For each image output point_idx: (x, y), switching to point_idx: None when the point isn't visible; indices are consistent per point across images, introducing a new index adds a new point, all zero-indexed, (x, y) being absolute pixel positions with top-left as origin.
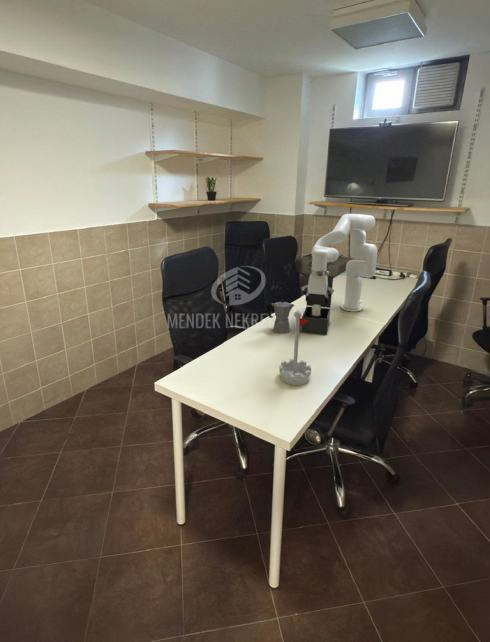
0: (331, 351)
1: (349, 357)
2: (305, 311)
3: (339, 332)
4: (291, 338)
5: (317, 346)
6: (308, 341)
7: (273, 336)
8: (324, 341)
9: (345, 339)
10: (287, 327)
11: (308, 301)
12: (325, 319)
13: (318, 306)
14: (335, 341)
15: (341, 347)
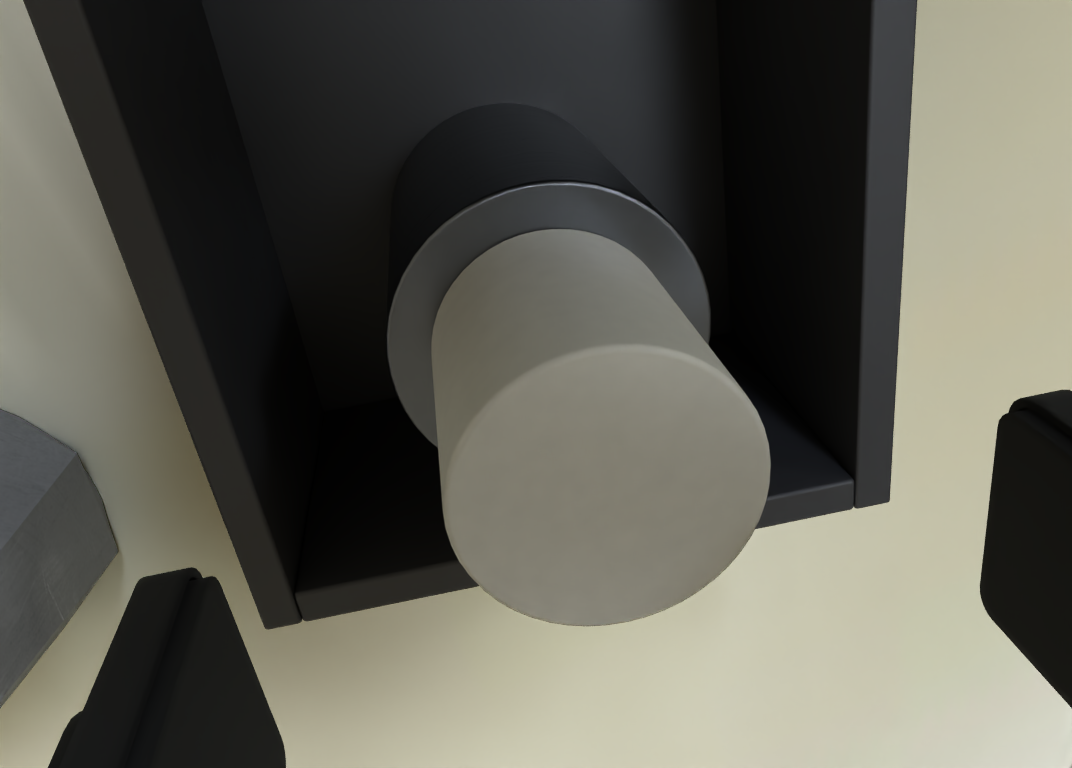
0: (854, 741)
1: (1037, 758)
2: (153, 229)
3: (958, 129)
4: (283, 693)
5: (682, 718)
6: (538, 661)
7: (11, 759)
8: (745, 564)
9: (1038, 366)
10: (70, 611)
11: (215, 596)
12: (835, 511)
13: (699, 536)
14: (893, 495)
15: (967, 610)
